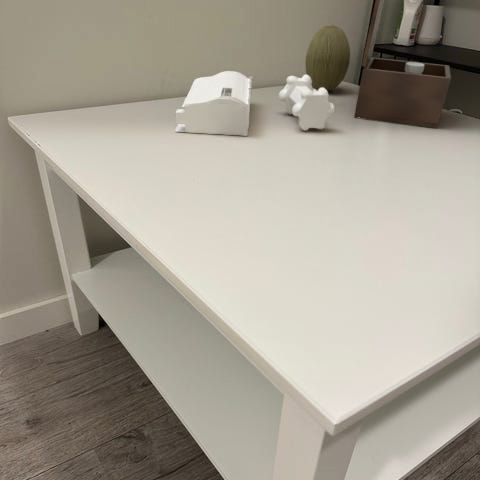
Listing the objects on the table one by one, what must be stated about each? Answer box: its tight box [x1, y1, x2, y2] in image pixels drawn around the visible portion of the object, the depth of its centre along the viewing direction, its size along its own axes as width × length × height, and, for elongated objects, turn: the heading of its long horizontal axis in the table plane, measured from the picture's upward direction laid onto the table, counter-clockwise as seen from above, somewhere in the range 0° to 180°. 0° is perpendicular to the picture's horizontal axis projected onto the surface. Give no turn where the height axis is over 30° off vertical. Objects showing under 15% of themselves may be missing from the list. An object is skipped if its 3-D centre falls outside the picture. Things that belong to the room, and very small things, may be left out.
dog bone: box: [278, 73, 335, 132], centre depth 101 cm, size 15×9×8 cm, turn 10°
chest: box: [353, 56, 452, 130], centre depth 109 cm, size 18×15×10 cm
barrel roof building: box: [174, 70, 253, 137], centre depth 102 cm, size 25×15×7 cm, turn 178°
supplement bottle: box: [405, 61, 424, 74], centre depth 108 cm, size 5×5×10 cm
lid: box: [361, 0, 385, 68], centre depth 102 cm, size 19×15×9 cm
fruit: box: [305, 24, 351, 92], centre depth 123 cm, size 11×11×15 cm
